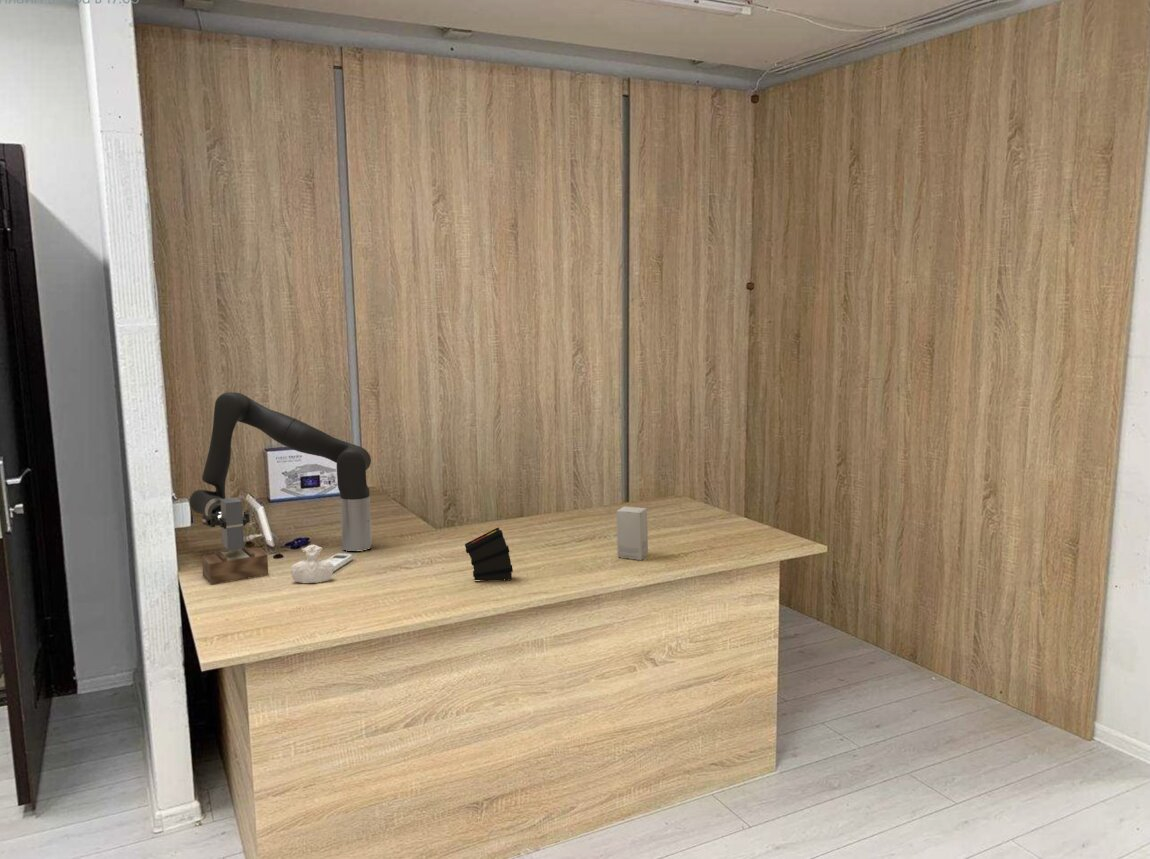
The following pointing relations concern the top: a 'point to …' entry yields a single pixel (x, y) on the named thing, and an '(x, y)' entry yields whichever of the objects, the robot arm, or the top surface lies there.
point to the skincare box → (632, 533)
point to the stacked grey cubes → (232, 523)
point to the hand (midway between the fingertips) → (234, 523)
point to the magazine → (490, 556)
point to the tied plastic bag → (312, 567)
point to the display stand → (234, 565)
